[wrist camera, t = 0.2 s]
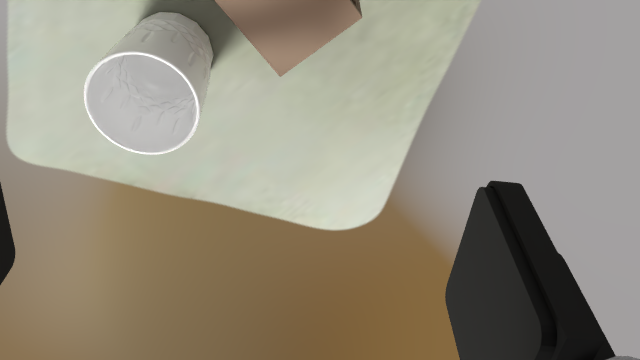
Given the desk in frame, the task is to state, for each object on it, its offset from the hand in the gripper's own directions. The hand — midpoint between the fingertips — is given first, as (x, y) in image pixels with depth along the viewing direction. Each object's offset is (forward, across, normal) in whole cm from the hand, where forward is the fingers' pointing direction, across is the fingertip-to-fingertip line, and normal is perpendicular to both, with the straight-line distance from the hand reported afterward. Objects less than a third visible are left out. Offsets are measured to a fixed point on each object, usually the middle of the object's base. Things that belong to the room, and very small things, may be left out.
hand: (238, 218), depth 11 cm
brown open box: (+37, 0, +5) cm, 37 cm away
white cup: (+37, +9, +12) cm, 40 cm away
